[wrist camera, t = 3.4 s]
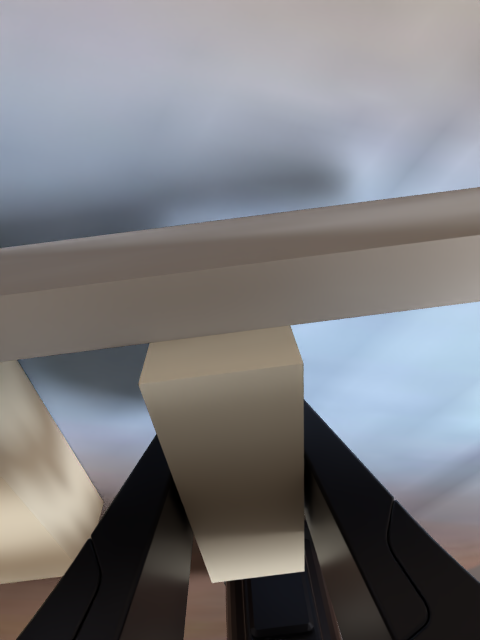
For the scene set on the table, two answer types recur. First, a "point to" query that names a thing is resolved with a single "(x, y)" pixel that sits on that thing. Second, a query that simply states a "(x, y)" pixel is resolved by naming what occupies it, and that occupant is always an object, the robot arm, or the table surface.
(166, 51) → the table surface
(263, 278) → the scraper
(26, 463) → the board
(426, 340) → the table surface
